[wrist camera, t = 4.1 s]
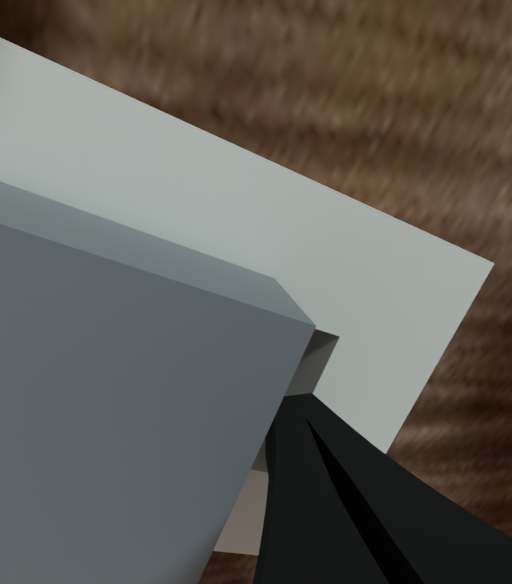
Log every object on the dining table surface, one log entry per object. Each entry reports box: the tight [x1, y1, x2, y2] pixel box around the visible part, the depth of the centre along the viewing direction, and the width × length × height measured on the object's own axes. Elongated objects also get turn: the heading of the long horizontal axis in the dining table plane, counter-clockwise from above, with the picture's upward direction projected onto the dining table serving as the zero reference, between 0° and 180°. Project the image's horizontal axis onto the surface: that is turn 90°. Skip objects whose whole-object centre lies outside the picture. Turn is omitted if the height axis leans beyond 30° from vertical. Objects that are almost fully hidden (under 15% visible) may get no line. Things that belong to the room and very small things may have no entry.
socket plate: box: [0, 38, 494, 555], centre depth 9 cm, size 18×12×2 cm, turn 69°
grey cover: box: [0, 181, 316, 584], centre depth 6 cm, size 7×7×3 cm
